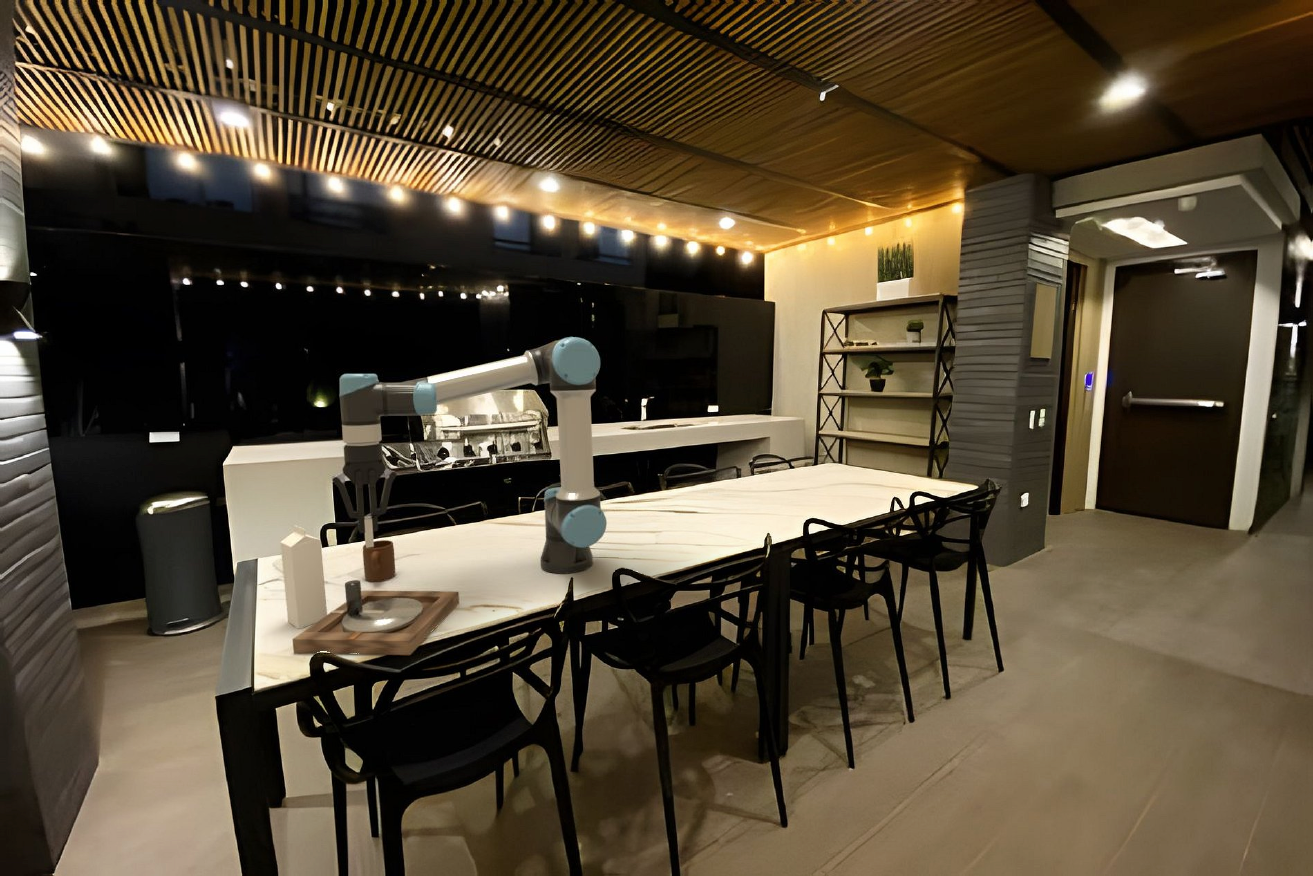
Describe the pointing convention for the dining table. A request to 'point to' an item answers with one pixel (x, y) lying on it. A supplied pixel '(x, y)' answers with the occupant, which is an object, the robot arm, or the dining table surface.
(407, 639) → the board
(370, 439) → the robot arm
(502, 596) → the dining table surface
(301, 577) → the milk
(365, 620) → the dial
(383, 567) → the mug
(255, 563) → the dining table surface
